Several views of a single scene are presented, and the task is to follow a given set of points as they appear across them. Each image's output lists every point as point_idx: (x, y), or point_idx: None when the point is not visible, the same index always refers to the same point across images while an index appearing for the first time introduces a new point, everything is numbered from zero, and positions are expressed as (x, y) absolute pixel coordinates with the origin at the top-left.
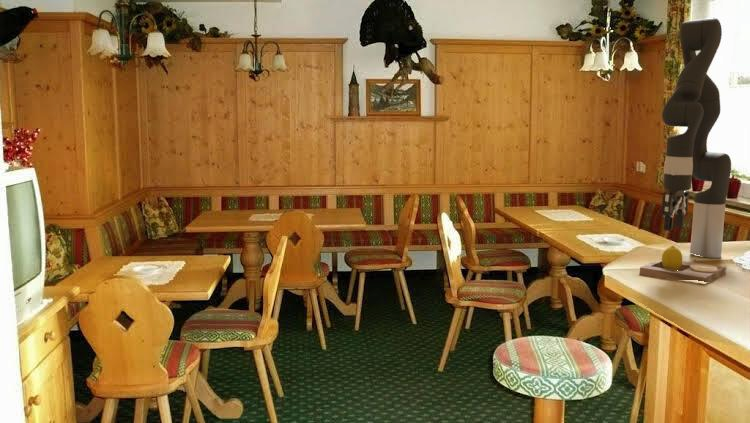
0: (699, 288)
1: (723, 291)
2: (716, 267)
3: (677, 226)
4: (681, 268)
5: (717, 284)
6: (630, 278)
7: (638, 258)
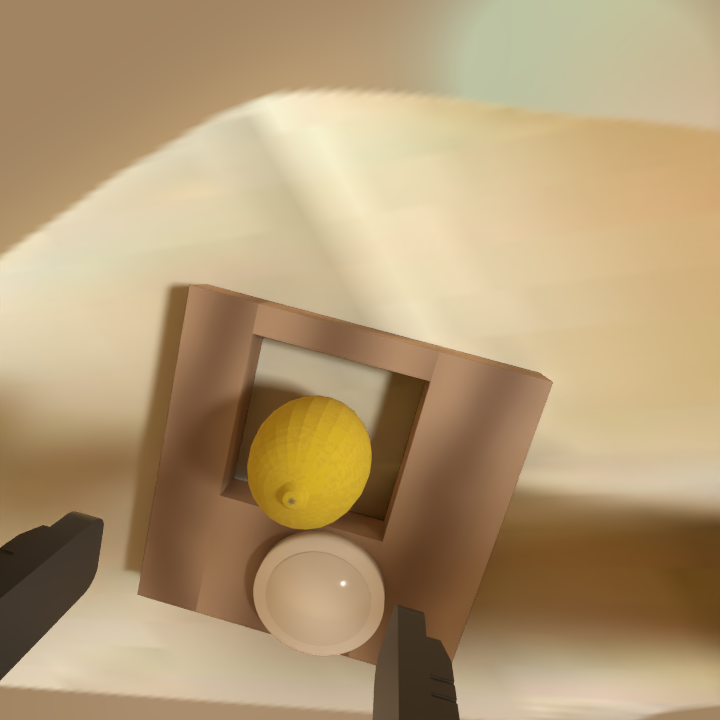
0: None
1: (90, 632)
2: (336, 653)
3: (388, 628)
4: (398, 478)
5: (200, 616)
6: (85, 255)
7: (668, 211)
